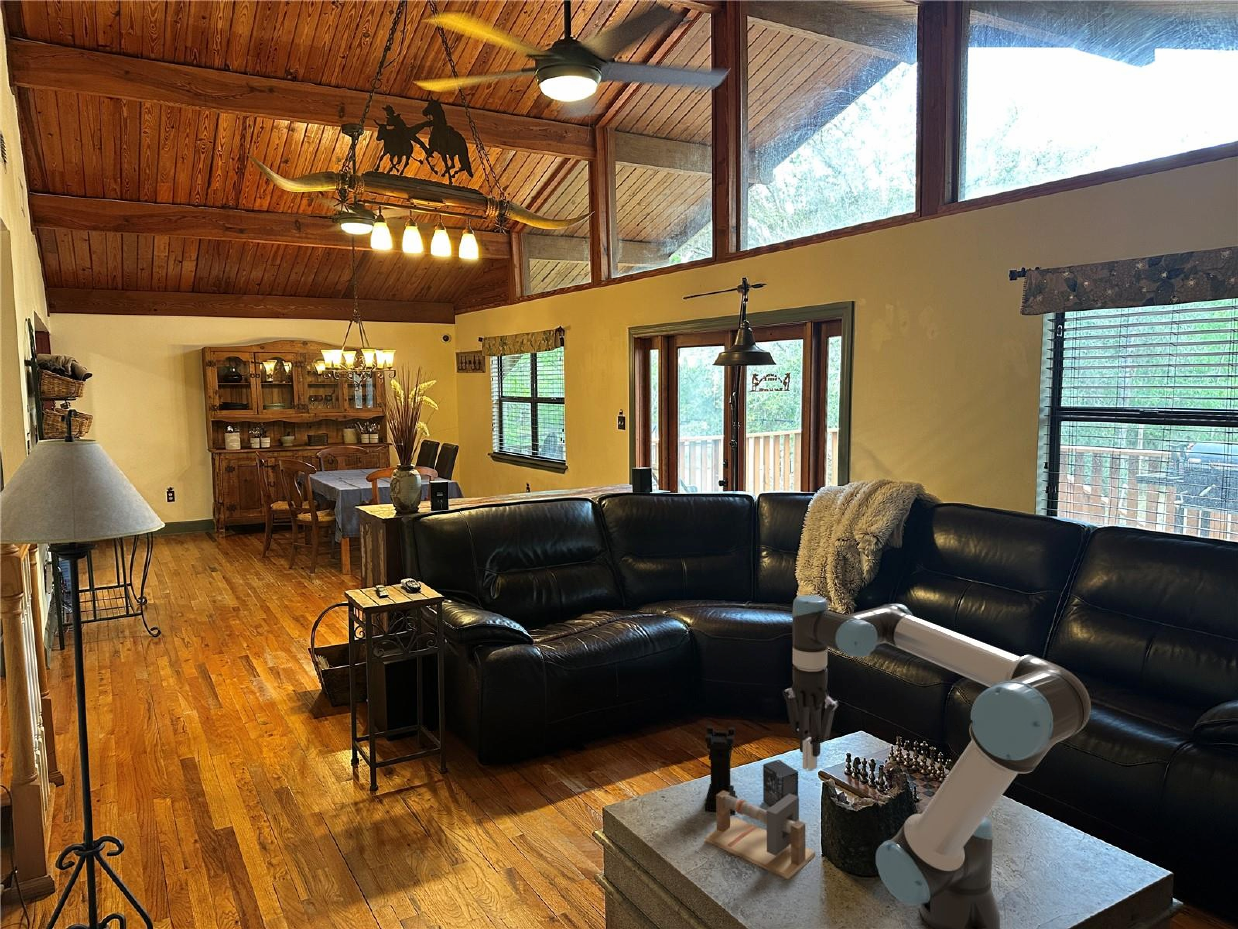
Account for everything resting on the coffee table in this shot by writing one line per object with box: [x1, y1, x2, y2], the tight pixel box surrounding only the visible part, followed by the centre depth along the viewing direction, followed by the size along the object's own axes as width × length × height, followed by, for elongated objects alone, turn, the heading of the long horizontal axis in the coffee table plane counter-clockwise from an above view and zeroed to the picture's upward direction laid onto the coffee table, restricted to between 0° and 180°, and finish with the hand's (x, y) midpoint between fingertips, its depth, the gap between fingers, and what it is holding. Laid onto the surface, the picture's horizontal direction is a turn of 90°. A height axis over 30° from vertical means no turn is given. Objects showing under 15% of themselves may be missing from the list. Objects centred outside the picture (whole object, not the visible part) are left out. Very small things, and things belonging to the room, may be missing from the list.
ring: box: [766, 793, 800, 856], centre depth 183 cm, size 2×10×10 cm, turn 137°
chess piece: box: [703, 725, 738, 815], centre depth 207 cm, size 8×8×20 cm
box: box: [762, 758, 799, 807], centre depth 207 cm, size 8×6×11 cm
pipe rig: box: [705, 790, 816, 880], centre depth 188 cm, size 23×12×10 cm, turn 47°
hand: (809, 767), depth 177 cm, fingers closed
